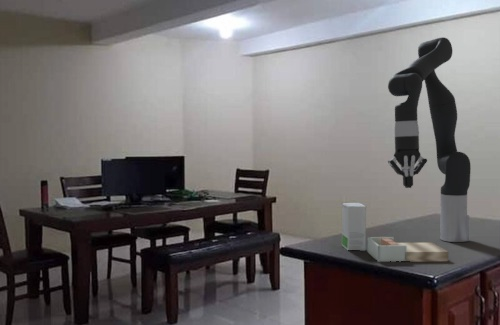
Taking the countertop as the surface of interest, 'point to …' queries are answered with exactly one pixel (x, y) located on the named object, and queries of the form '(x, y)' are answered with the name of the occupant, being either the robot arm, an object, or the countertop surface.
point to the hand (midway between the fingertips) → (408, 187)
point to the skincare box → (353, 226)
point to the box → (386, 250)
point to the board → (425, 252)
